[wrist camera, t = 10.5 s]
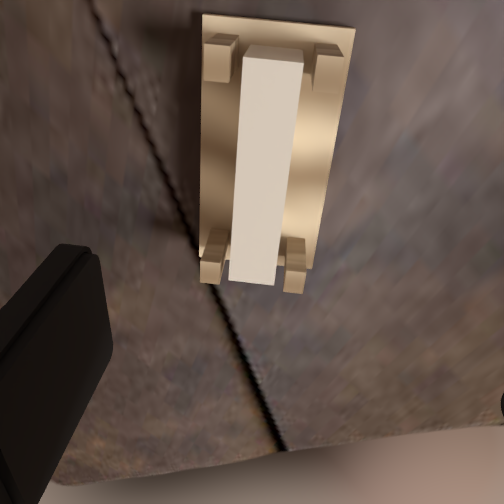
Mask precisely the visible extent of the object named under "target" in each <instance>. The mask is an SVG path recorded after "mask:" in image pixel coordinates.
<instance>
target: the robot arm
mask: <svg viewBox="0 0 504 504" xmlns="http://www.w3.org/2000/svg"><path fill="white" fill-rule="evenodd" d="M112 352H113V340H112V334H111V328H110V321H109V315H108V309H107V303H106V297H105V291H104V285H103V278H102V272H101V266H100V260H99V257H98V256H97V255H96V254H92V252H91V250H90V248H89V247H87V246H78V245H70V244H59V245H58V246H56V247H55V249H54V250H53V251H52V252H51V253H50V254H49V255H48V257H47V258H46V259H45V260H44V261H43V262H42V263H41V265H40V266H39V267H38V268H37V269H36V270H35V271H34V273H33V274H32V275H31V276H30V277H29V278H28V279H27V281H26V282H25V283H24V284H23V285H22V286H21V287H20V289H19V290H18V291H17V292H16V293H15V294H14V295H13V297H12V298H11V299H10V300H9V301H8V302H7V303H6V305H4V306H3V307H2V308H1V309H0V504H38V503H39V501H40V499H41V497H42V495H43V493H44V491H45V489H46V487H47V485H48V483H49V481H50V479H51V477H52V475H53V473H54V471H55V469H56V467H57V465H58V463H59V461H60V459H61V457H62V455H63V453H64V451H65V449H66V447H67V445H68V443H69V441H70V439H71V437H72V435H73V433H74V431H75V429H76V427H77V425H78V423H79V421H80V419H81V417H82V415H83V413H84V411H85V409H86V407H87V405H88V403H89V401H90V399H91V397H92V395H93V393H94V391H95V389H96V387H97V385H98V383H99V381H100V379H101V377H102V375H103V373H104V371H105V369H106V367H107V365H108V363H109V361H110V359H111V356H112ZM501 410H502V414H503V416H504V393H503V395H502V398H501Z"/></svg>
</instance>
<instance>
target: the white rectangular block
mask: <svg viewBox="0 0 504 504" xmlns="http://www.w3.org/2000/svg"><path fill="white" fill-rule="evenodd" d="M303 66H304V59H303V50H300V49H291V48H281V47H271V46H261V45H250V46H249V48H248V50H247V51H246V53H245V55H244V56H243V66H242V81H241V97H240V112H239V127H238V143H237V158H236V174H235V189H234V205H233V220H232V235H231V251H230V266H229V280H231V281H240V282H249V283H257V284H266V285H274V280H275V273H276V265H277V258H278V250H279V243H280V236H281V228H282V221H283V213H284V206H285V199H286V191H287V184H288V176H289V169H290V162H291V154H292V147H293V139H294V132H295V125H296V117H297V110H298V102H299V95H300V88H301V80H302V73H303Z"/></svg>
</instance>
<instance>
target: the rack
mask: <svg viewBox="0 0 504 504" xmlns="http://www.w3.org/2000/svg"><path fill="white" fill-rule="evenodd" d="M355 30H356V29H355V28H354V27H344V26H333V25H322V24H312V23H301V22H291V21H280V20H270V19H259V18H248V17H238V16H227V15H217V14H206V13H205V14H203V15H202V87H201V161H200V235H199V256H200V257H202V258H201V263H200V282H202V283H211V284H220V279H221V275H222V271H223V267H224V263H225V259H227V260H230V251H231V235H232V220H233V205H234V189H235V174H236V158H237V143H238V127H239V112H240V97H241V81H242V66H243V56H244V55H245V53H246V51H247V50H248V48H249V46H250V45H261V46H271V47H281V48H291V49H300V50H303V59H304V66H303V73H302V80H301V88H300V95H299V102H298V110H297V117H296V125H295V132H294V139H293V147H292V154H291V162H290V169H289V176H288V184H287V191H286V199H285V206H284V213H283V221H282V228H281V236H280V243H279V250H278V258H277V265H281V266H284V287H283V292H291V293H300V294H303V289H304V283H305V278H306V268H307V269H312V265H313V259H314V254H315V248H316V243H317V238H318V232H319V227H320V221H321V216H322V210H323V205H324V199H325V194H326V188H327V183H328V178H329V172H330V167H331V161H332V156H333V150H334V145H335V139H336V134H337V128H338V123H339V118H340V112H341V107H342V101H343V96H344V90H345V85H346V79H347V74H348V69H349V63H350V58H351V52H352V47H353V41H354V36H355Z"/></svg>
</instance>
